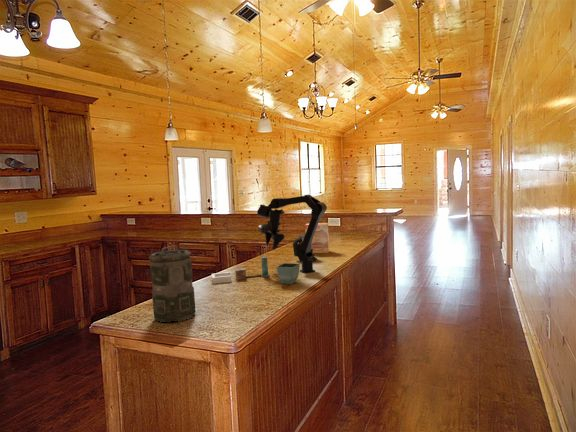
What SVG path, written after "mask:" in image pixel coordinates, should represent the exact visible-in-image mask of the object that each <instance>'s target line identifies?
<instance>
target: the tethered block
mask: <svg viewBox="0 0 576 432" xmlns="http://www.w3.org/2000/svg"><path fill="white" fill-rule="evenodd" d="M260 260H261V274H257V275H255V274H254V275H247V270H246V268H245V267H241V268H235V269H234V272H235V279H236V281H240V280H247V278H248V279H249V278H258V277H261V278H267V277H270V275H271V274H270V273H269V267H268V263H269V262H268V257H267V256H263V257H260Z"/></svg>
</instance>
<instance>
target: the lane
mask: <svg viewBox="0 0 576 432" xmlns="http://www.w3.org/2000/svg"><path fill="white" fill-rule="evenodd" d="M211 280H212V281H211V282H212V284H223V283H224V284H225V283H231V282H232V275H231V271H226V272H225V271H224V272H217V273H215V272H214V273H211Z"/></svg>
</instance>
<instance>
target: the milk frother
mask: <svg viewBox="0 0 576 432" xmlns="http://www.w3.org/2000/svg"><path fill="white" fill-rule="evenodd" d="M297 236H298V237H297V238H295V239H294V240H293V241H292V247H293V249H292V250H293V256H294V257H297V255H296V248H297V245H298V243H301V242H303V239H304V237H305V234H298V235H297ZM311 252H312V253H313V246H312V241H311ZM313 254H314V253H313ZM317 260H318V258H317V257H316V256H314V259H312V262H315V261H317Z"/></svg>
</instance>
